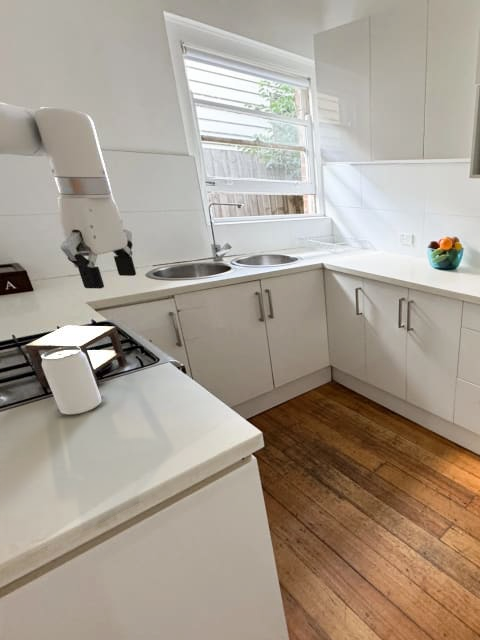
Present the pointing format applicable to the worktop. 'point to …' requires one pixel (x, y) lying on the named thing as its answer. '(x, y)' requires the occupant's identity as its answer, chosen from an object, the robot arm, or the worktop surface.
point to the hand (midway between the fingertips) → (112, 281)
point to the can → (71, 380)
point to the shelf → (78, 338)
